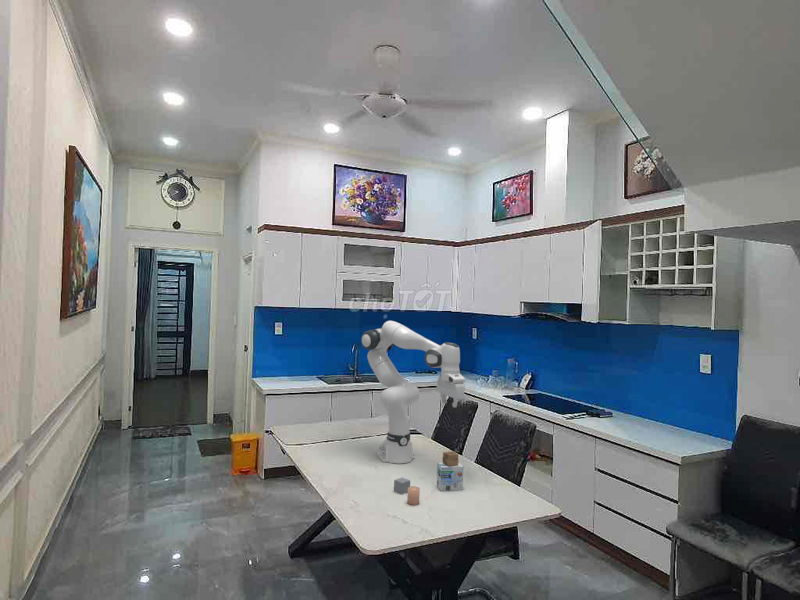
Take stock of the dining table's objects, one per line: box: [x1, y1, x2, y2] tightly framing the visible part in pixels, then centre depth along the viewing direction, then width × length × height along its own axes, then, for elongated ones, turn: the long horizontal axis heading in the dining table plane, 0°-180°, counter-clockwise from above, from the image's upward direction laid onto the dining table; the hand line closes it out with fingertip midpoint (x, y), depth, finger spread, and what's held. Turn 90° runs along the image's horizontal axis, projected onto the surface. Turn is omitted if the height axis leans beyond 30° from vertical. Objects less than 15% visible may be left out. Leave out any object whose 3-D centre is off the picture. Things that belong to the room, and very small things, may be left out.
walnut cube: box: [442, 450, 459, 467], centre depth 228 cm, size 5×5×5 cm
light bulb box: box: [436, 461, 464, 492], centre depth 228 cm, size 11×7×11 cm, turn 101°
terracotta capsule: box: [406, 485, 421, 506], centre depth 210 cm, size 5×5×6 cm
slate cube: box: [393, 476, 411, 495], centre depth 223 cm, size 5×5×5 cm
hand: (449, 405), depth 244 cm, fingers open, 8 cm apart
